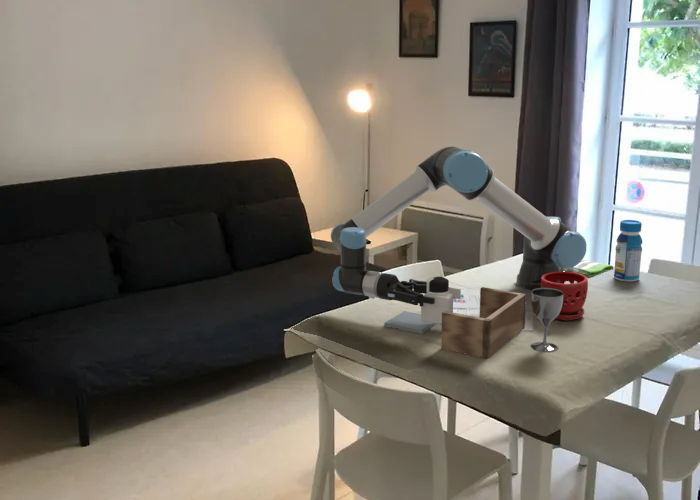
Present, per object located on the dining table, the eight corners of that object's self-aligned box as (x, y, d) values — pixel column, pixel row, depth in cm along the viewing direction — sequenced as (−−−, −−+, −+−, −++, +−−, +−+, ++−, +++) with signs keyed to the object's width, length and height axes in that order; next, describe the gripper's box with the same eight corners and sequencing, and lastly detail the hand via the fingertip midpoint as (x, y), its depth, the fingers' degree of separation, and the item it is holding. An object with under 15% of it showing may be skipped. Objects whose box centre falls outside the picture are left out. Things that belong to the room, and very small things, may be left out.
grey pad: (384, 326, 211) (384, 322, 211) (404, 314, 221) (404, 311, 221) (421, 333, 205) (421, 330, 204) (441, 321, 214) (441, 318, 214)
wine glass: (524, 342, 198) (527, 288, 194) (553, 340, 198) (556, 287, 195) (534, 353, 190) (537, 297, 186) (564, 351, 191) (568, 296, 187)
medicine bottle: (453, 317, 208) (454, 276, 205) (445, 325, 202) (446, 283, 199) (429, 314, 211) (429, 273, 208) (420, 321, 205) (421, 280, 202)
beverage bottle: (636, 283, 248) (641, 225, 243) (610, 280, 252) (615, 222, 247) (641, 277, 255) (646, 220, 250) (616, 274, 259) (620, 218, 254)
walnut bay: (441, 348, 194) (441, 312, 191) (481, 320, 215) (482, 287, 212) (487, 358, 187) (488, 321, 185) (524, 328, 208) (526, 294, 206)
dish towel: (558, 258, 283) (558, 249, 282) (614, 269, 266) (614, 260, 266) (532, 266, 272) (532, 257, 271) (588, 279, 255) (589, 269, 254)
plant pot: (553, 305, 227) (556, 268, 224) (593, 315, 218) (596, 276, 215) (530, 316, 218) (532, 277, 215) (571, 326, 209) (573, 286, 206)
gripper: (399, 289, 224) (468, 301, 212) (362, 307, 207) (436, 322, 195) (399, 265, 222) (469, 275, 210) (362, 282, 205) (436, 294, 193)
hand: (453, 298), depth 203 cm, fingers closed on medicine bottle, 8 cm apart
